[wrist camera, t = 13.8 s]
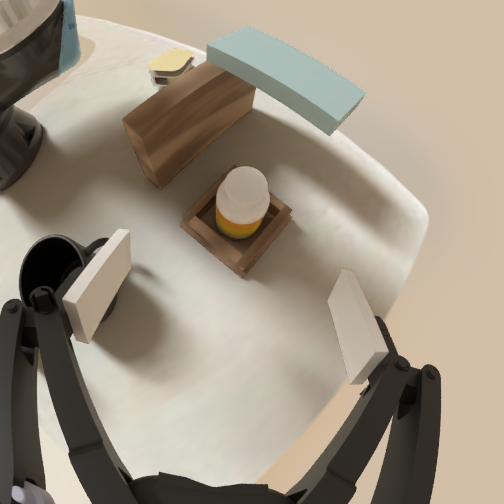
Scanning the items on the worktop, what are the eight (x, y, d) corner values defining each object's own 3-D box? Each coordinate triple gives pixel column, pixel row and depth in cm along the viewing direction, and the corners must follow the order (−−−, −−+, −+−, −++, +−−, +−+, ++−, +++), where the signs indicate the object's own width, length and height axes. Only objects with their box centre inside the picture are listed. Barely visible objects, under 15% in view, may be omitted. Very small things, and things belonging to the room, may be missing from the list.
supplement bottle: (259, 242, 33) (277, 213, 24) (215, 241, 33) (215, 211, 23) (259, 201, 35) (274, 161, 25) (216, 199, 34) (217, 158, 25)
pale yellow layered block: (169, 63, 40) (166, 41, 35) (210, 73, 41) (210, 50, 35) (136, 95, 38) (130, 72, 33) (179, 107, 38) (176, 83, 33)
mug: (147, 276, 32) (123, 261, 23) (86, 342, 28) (49, 347, 20) (102, 225, 32) (72, 198, 23) (47, 288, 29) (7, 278, 20)
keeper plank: (206, 60, 25) (206, 44, 23) (245, 40, 27) (247, 25, 25) (329, 136, 25) (338, 121, 22) (357, 106, 26) (366, 92, 24)
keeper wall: (146, 177, 34) (121, 119, 22) (236, 100, 39) (245, 40, 27) (161, 189, 34) (139, 132, 22) (251, 109, 39) (264, 49, 27)
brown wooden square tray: (180, 226, 33) (176, 217, 30) (231, 172, 36) (233, 160, 33) (242, 278, 33) (244, 274, 30) (290, 219, 35) (298, 209, 32)
